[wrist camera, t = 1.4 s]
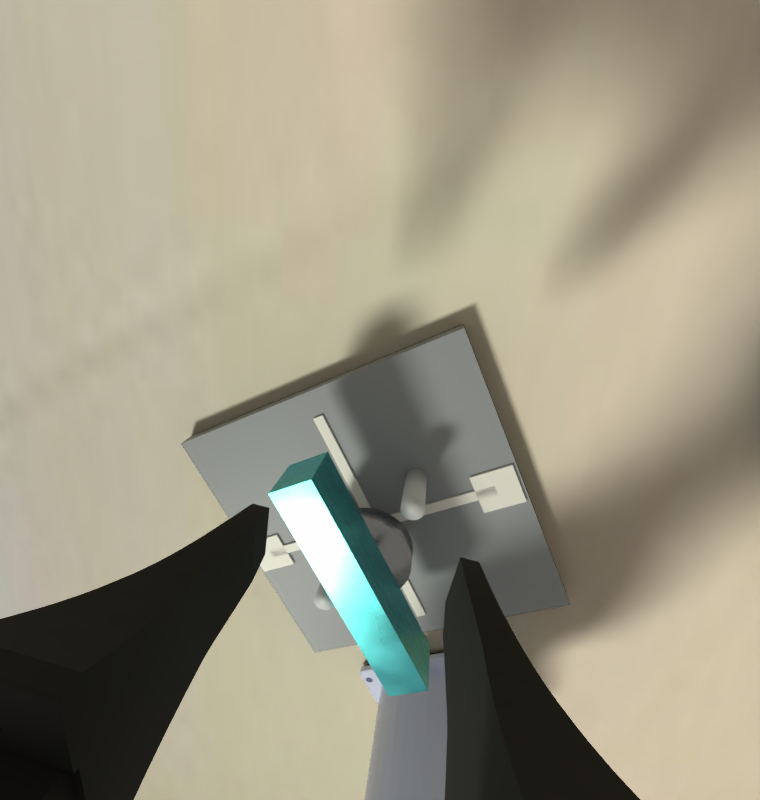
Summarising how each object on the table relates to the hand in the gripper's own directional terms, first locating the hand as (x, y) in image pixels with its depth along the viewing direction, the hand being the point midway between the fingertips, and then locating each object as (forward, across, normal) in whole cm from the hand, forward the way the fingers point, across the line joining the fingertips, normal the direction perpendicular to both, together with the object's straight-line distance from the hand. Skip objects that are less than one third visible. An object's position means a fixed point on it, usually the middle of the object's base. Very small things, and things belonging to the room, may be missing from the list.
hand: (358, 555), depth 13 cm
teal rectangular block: (+7, 0, +6) cm, 9 cm away
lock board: (+10, 0, +6) cm, 11 cm away
